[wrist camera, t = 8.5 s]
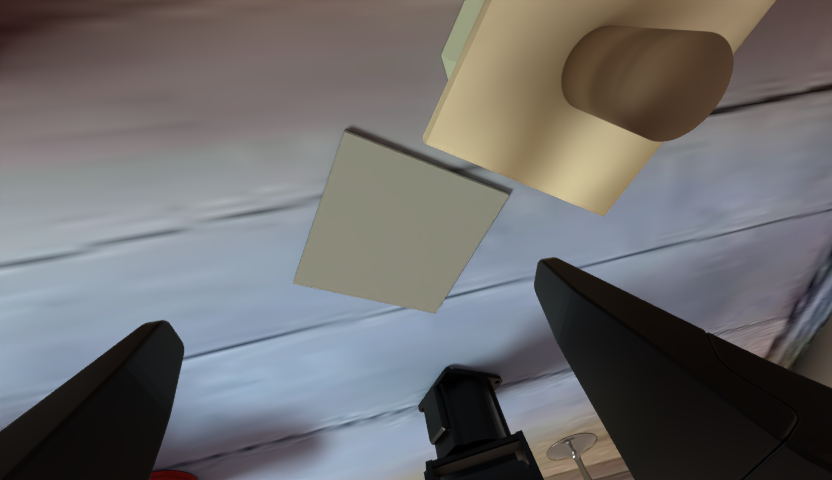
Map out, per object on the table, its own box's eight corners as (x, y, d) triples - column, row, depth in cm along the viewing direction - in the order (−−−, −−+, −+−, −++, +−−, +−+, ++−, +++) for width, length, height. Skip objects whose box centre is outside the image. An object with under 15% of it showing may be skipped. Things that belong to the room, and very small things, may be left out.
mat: (507, 192, 23) (509, 195, 22) (434, 310, 28) (435, 313, 27) (344, 129, 19) (344, 131, 18) (293, 279, 24) (293, 283, 23)
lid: (762, -8, 15) (935, -14, 10) (594, 209, 19) (664, 265, 15) (572, -193, 11) (723, -329, 6) (422, 138, 16) (451, 186, 11)
